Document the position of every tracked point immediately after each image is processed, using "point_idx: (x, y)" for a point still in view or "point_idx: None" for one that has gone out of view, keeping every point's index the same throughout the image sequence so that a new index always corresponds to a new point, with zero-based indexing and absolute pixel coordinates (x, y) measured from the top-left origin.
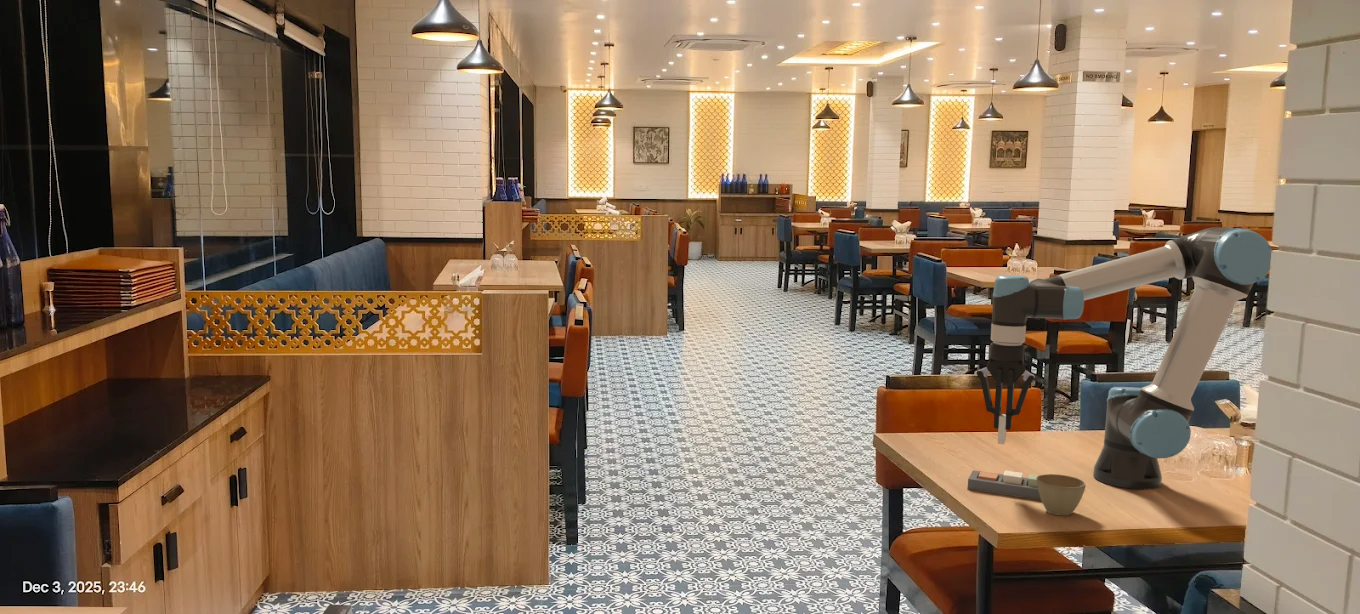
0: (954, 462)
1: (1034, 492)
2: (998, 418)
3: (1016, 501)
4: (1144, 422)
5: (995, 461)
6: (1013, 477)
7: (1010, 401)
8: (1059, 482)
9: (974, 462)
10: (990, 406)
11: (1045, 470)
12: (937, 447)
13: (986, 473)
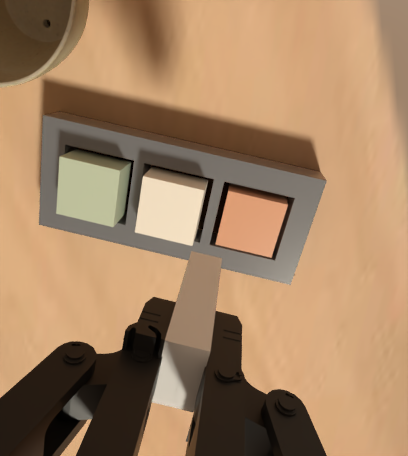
0: (311, 408)
1: (111, 128)
2: (213, 353)
3: (174, 80)
4: None
5: None
6: (170, 181)
7: (98, 443)
8: (4, 77)
9: None
10: (278, 426)
11: None
12: None
13: (254, 240)
